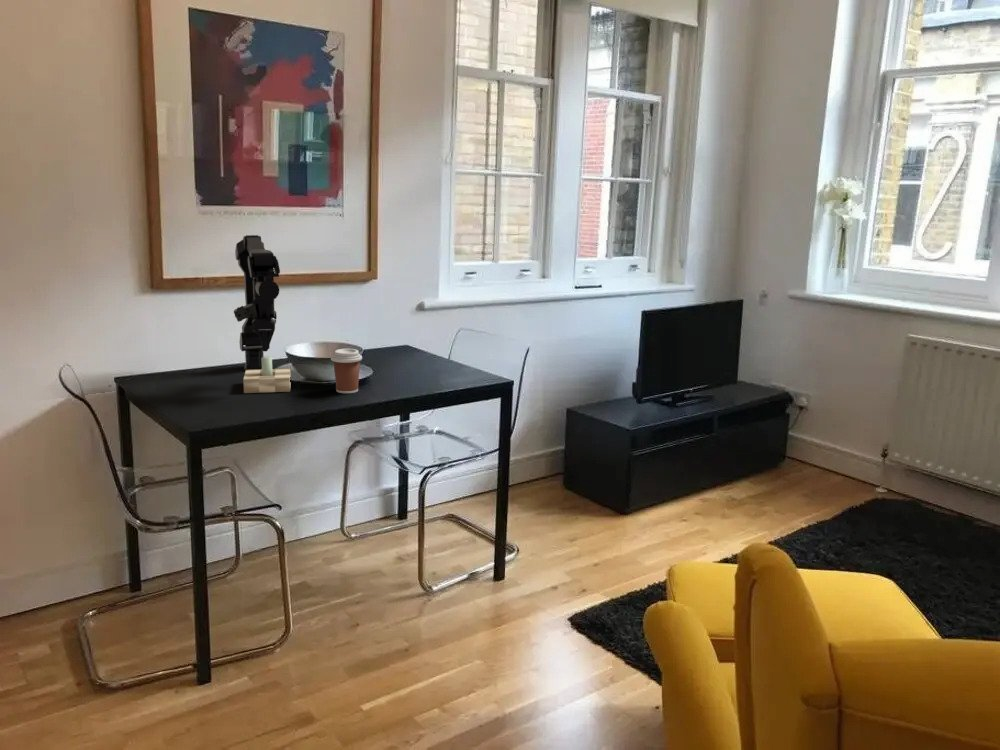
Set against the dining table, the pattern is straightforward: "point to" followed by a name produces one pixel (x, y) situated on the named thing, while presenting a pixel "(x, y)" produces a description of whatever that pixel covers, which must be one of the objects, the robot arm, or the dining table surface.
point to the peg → (267, 366)
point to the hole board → (267, 381)
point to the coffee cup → (346, 370)
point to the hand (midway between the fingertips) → (266, 347)
